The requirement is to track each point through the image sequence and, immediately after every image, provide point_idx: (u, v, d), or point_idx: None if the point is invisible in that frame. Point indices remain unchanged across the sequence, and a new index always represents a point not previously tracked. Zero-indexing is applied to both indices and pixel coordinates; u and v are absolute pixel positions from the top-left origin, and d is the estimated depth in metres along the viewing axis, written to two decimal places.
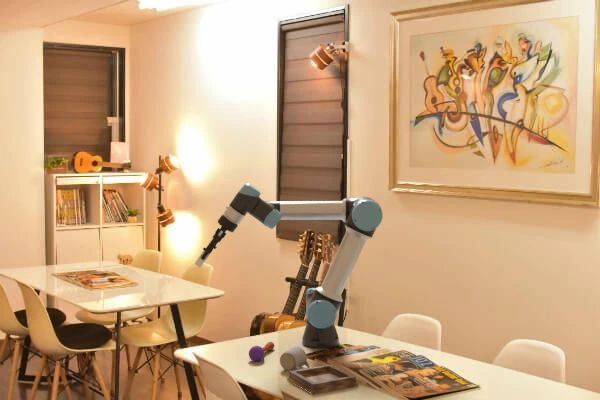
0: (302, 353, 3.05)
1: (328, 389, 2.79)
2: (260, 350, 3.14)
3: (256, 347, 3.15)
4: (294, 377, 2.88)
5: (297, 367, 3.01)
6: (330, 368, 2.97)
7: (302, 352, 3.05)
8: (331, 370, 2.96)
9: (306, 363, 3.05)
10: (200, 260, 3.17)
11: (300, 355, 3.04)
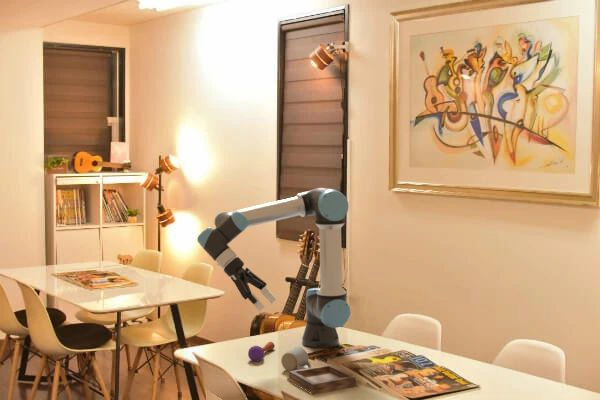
0: (303, 353, 3.05)
1: (328, 389, 2.79)
2: (259, 350, 3.14)
3: (255, 347, 3.15)
4: (294, 377, 2.88)
5: (299, 367, 3.01)
6: (330, 368, 2.97)
7: (304, 352, 3.05)
8: (331, 370, 2.96)
9: (308, 363, 3.05)
10: (257, 304, 3.00)
11: (302, 355, 3.03)
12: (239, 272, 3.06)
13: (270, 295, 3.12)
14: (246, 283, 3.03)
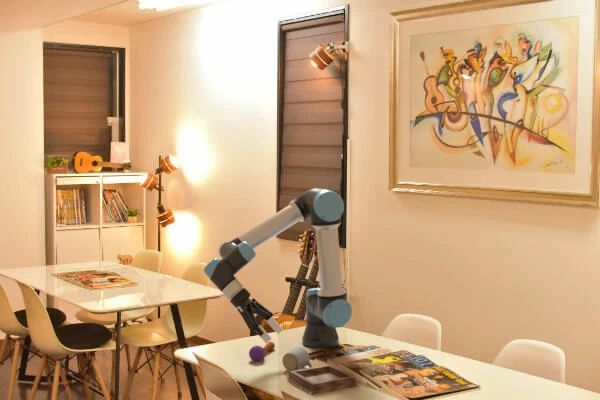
0: (304, 353, 3.04)
1: (328, 389, 2.79)
2: (260, 350, 3.14)
3: (256, 347, 3.15)
4: (294, 377, 2.88)
5: (300, 367, 3.00)
6: (330, 368, 2.97)
7: (305, 352, 3.05)
8: (331, 370, 2.96)
9: (309, 363, 3.05)
10: (263, 336, 2.99)
11: (303, 355, 3.03)
12: (246, 303, 3.05)
13: (277, 326, 3.12)
14: (253, 315, 3.02)
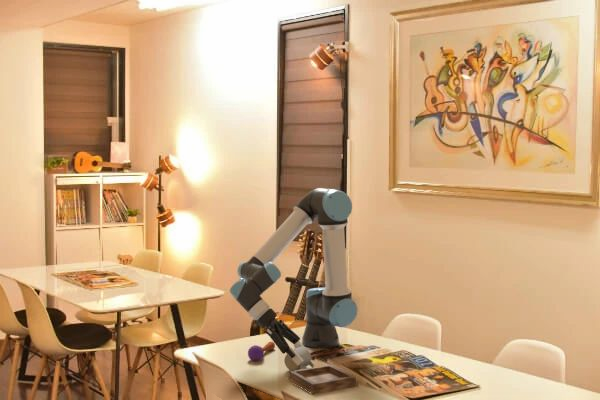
0: (306, 353, 3.04)
1: (328, 389, 2.79)
2: (259, 350, 3.15)
3: (255, 347, 3.15)
4: (294, 377, 2.88)
5: (302, 367, 3.00)
6: (330, 368, 2.97)
7: (307, 352, 3.05)
8: (331, 370, 2.96)
9: (311, 363, 3.05)
10: (295, 358, 2.99)
11: (305, 355, 3.03)
12: (272, 324, 3.04)
13: None
14: (282, 336, 3.02)
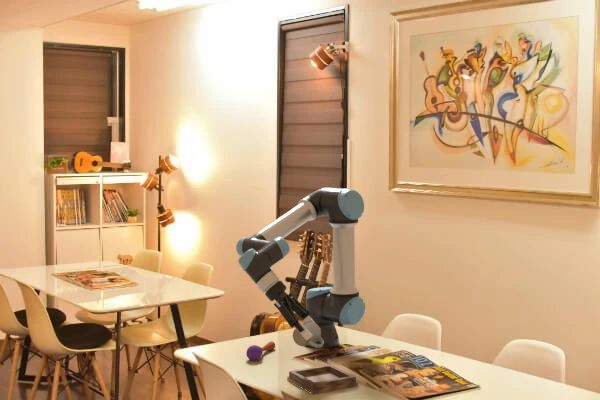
0: (316, 328, 2.92)
1: (328, 389, 2.79)
2: (257, 349, 3.15)
3: (253, 346, 3.16)
4: (294, 377, 2.88)
5: (310, 342, 2.88)
6: (330, 368, 2.97)
7: (316, 327, 2.93)
8: (331, 370, 2.96)
9: (320, 339, 2.93)
10: (304, 333, 2.87)
11: (314, 330, 2.91)
12: (281, 296, 2.92)
13: None
14: (291, 309, 2.90)
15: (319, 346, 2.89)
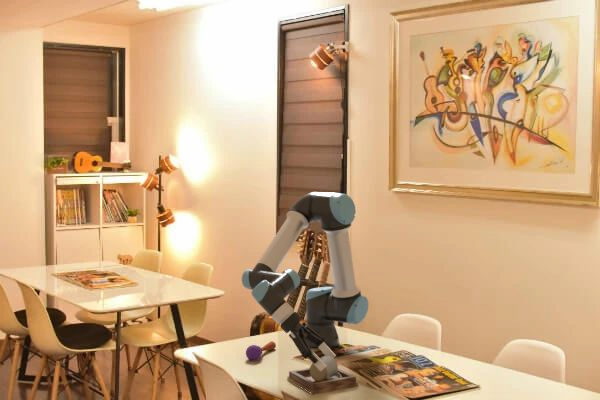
0: (333, 362, 2.88)
1: (328, 389, 2.79)
2: (256, 349, 3.15)
3: (253, 346, 3.16)
4: (294, 377, 2.88)
5: (328, 378, 2.84)
6: None
7: (333, 361, 2.88)
8: None
9: (337, 373, 2.88)
10: (318, 364, 2.81)
11: (331, 365, 2.87)
12: (297, 328, 2.87)
13: (329, 352, 2.94)
14: (305, 341, 2.84)
15: None
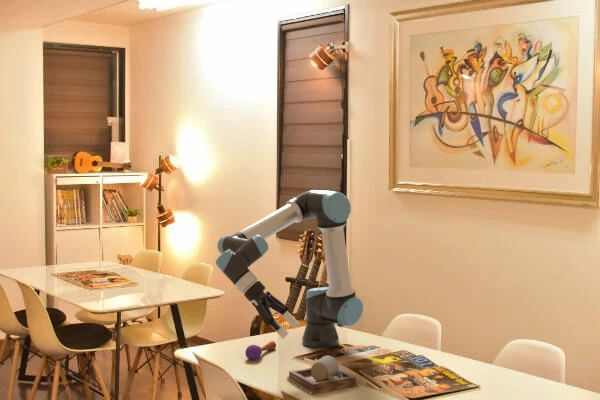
0: (334, 363, 2.88)
1: (328, 389, 2.79)
2: (256, 349, 3.16)
3: (252, 346, 3.16)
4: (294, 377, 2.88)
5: (330, 378, 2.84)
6: None
7: (334, 362, 2.88)
8: None
9: (338, 373, 2.88)
10: (280, 331, 2.84)
11: (332, 365, 2.86)
12: (260, 297, 2.90)
13: (292, 320, 2.97)
14: (268, 309, 2.87)
15: None
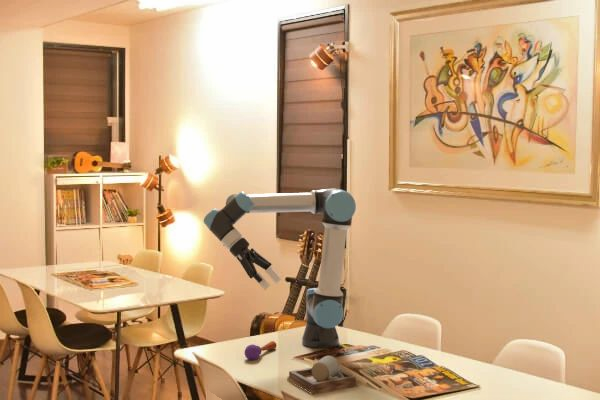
0: (335, 363, 2.88)
1: (328, 389, 2.79)
2: (255, 349, 3.16)
3: (251, 346, 3.17)
4: (294, 377, 2.88)
5: (330, 378, 2.84)
6: None
7: (335, 362, 2.88)
8: None
9: (339, 373, 2.88)
10: (262, 283, 3.07)
11: (333, 365, 2.86)
12: (245, 252, 3.13)
13: (275, 275, 3.19)
14: (251, 263, 3.10)
15: None
